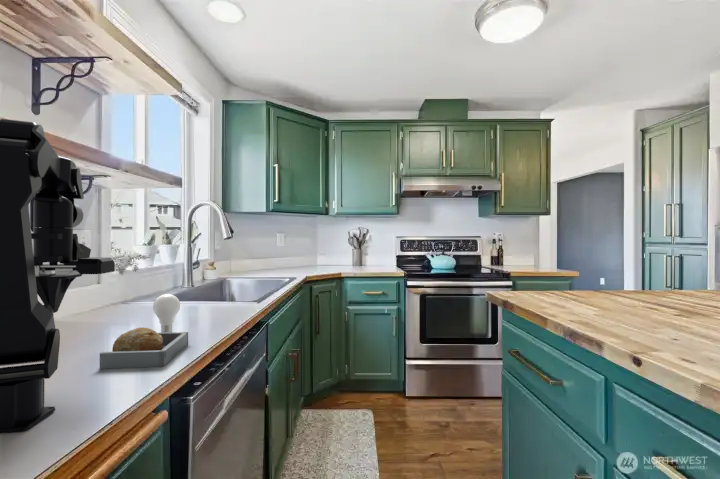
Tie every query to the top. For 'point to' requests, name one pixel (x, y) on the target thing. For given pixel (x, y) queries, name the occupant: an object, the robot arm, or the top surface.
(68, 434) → the top surface
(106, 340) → the top surface
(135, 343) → the bread roll
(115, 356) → the grey u-shaped frame
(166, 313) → the lightbulb
